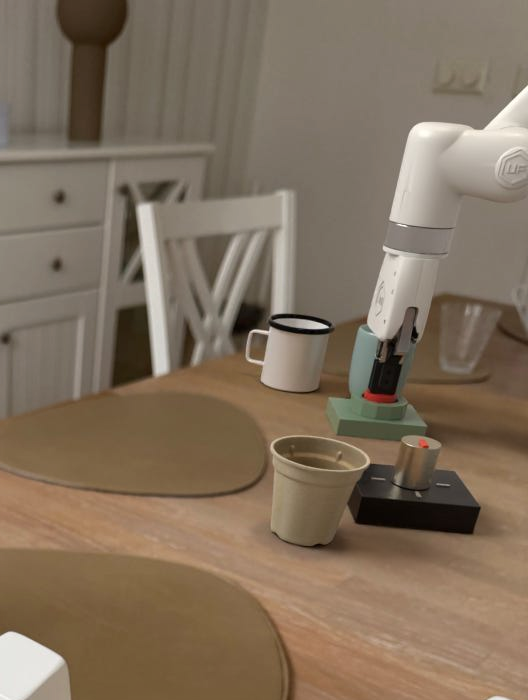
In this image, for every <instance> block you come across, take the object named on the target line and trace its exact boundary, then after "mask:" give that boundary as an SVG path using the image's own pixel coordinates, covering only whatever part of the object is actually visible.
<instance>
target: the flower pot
mask: <svg viewBox="0 0 528 700" xmlns="http://www.w3.org/2000/svg"><path fill="white" fill-rule="evenodd" d="M269 449H270V450H269V451H270V453H271V454H272V466H273V471H274V472H273V485H272V486H273V487H272V504H271V518H270V531H271V532H272V533H275V534H276V535H277V536H278V538H279V539H280V540H282V541H284V542H287V543H291V544H295V545H298V546H304V547H313V546H315V545H318V544H321V545H322V546H325V545H328V544H329V543H331V542H332V541H333V539H334V538H335V535H336V532H337V529H338V527H339V524H340V522H341V520H342V517H343V515H344V512H345V510H346V508H347V506H348V504H347V503H348V500H349V498H350V496H351V493H352V491H353V489H354V486H355V484H356V482H357V481H358V480H359V479H360V478H361V476H362V473H363V471H364V470H365V469H367V468H368V467H369V465H370V463H371V458H370V456H369V454H367V453H366V452H365V451H364V450H362V449H361V448H358V447H356V446H354V445H353V444H350V443H348V442H344V441H341V440H337V439H333V438H329V437H322V436H314V435H300V434H299V435H297V434H296V435H287V436H283V437H282V436H281V437H278V438H276V439H273V441H272V442H271V443H270V447H269Z"/></svg>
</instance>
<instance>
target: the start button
mask: <svg viewBox="0 0 528 700" xmlns="http://www.w3.org/2000/svg"><path fill="white" fill-rule="evenodd" d="M363 398H365V399H367V400H369V401H373V402H377V403H387V404H390V403H395V402H396V398H397V394H396V393H395V394H394V395H385V394H373V393H371V392H370V390H369V389H366V390H365V393H364V397H363Z"/></svg>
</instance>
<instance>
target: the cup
mask: <svg viewBox="0 0 528 700" xmlns="http://www.w3.org/2000/svg"><path fill="white" fill-rule="evenodd" d="M377 344H378V338H377V336H376V335H375V334H374V333H373V332H372V330H371V329H370V328H369V326H368V324H367V323H365V324H361V325H360V326H359V327H358V329H357V332H356V338H355V341H354V346H353V350H352V354H351V360H350V364H349V365H350V366H349V372H348V392H349V395H350V396H351V394H352V393H353V392H355V391H357V390H366V389H368V384H369V380H370V376H371V371H372V367H373V363H374V359H379V358H376V349H377ZM417 347H418V343H416V344H412V343H411V342H410V344H409V350H408V354H407V356H405V358H404V362H403V365H402V369H401V373H400V377H399V381H398V385H397V389H396V394H397V395H399V396H402V394H403V392H404V389H405V387H406V385H407V382H408V379H409V376H410V373H411V370H412V369H411V368H412V366H413V362H414V359H415V355H416V351H417Z"/></svg>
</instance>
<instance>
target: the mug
mask: <svg viewBox="0 0 528 700" xmlns="http://www.w3.org/2000/svg"><path fill="white" fill-rule="evenodd" d="M266 324H267V325H268V326H269V330H264V329H252V330H250V331H249V333H248V336H247V341H246V347H245V359H246V361H247V362H248V363H251V364H254V365H257V366H261V368H262V370H261V373H260V382H261V383H263V385H264V386H266V387H268V388H270V389H273V390H275V391H280V392H287V393H295V394H303V393H311V392H313V391H316V390H318V388H319V386H320V382H321V378H322V377H321V376H322V372H323V368H324V362H325V357H326V352H327V348H328V343H329V338H330V334H333V332H335V328H336V325H335V323H334V322H332V321H331V320H329V319H326V318H324V317H319V316H315V315H310V314H305V313H304V314H303V313H293V312H292V313H291V312H286V313H285V312H283V313H282V312H281V313H274V314H271V315H269V316H268V317H267V320H266ZM253 334H259V335H265V336H267V341H266V346H265V353H264V358H263V360H258V359H253V358H251V357H250V352H251V343H252V339H253Z"/></svg>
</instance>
